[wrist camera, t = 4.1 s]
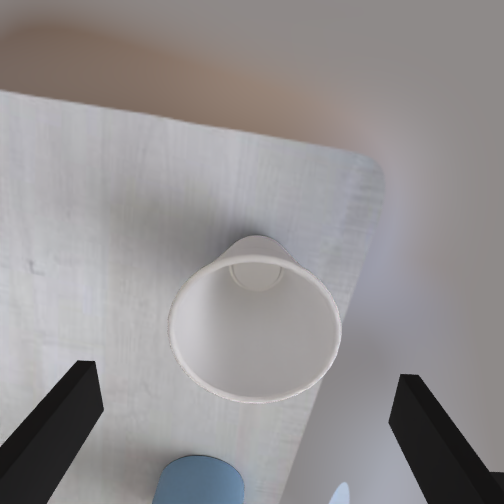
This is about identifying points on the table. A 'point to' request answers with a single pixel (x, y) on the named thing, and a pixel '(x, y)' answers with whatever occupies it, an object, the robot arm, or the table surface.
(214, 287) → the cup
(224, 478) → the blue lidded canister
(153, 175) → the table surface
